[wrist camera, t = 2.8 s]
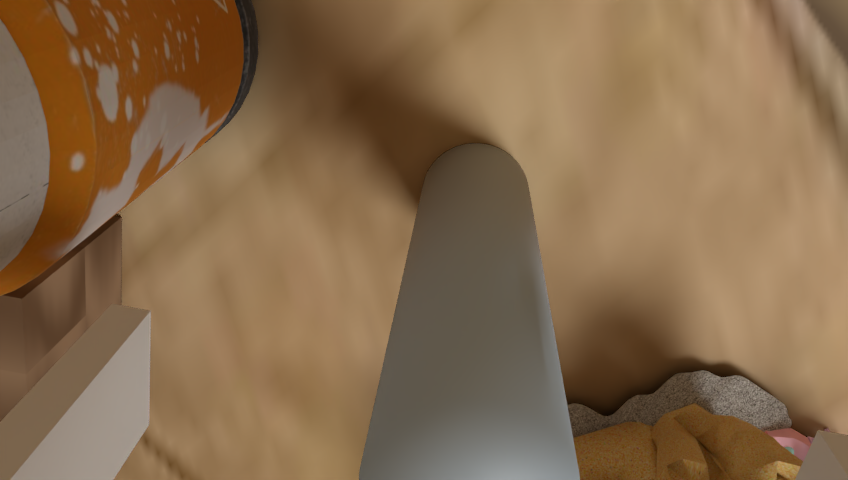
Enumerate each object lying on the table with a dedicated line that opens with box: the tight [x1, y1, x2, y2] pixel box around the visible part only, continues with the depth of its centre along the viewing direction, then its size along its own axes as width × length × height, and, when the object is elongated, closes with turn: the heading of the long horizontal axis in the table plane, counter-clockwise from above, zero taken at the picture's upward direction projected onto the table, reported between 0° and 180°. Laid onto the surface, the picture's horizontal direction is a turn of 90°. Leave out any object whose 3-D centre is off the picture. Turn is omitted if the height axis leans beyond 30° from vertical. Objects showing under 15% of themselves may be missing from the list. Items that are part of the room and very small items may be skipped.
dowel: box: [359, 143, 580, 480], centre depth 21 cm, size 4×4×16 cm
